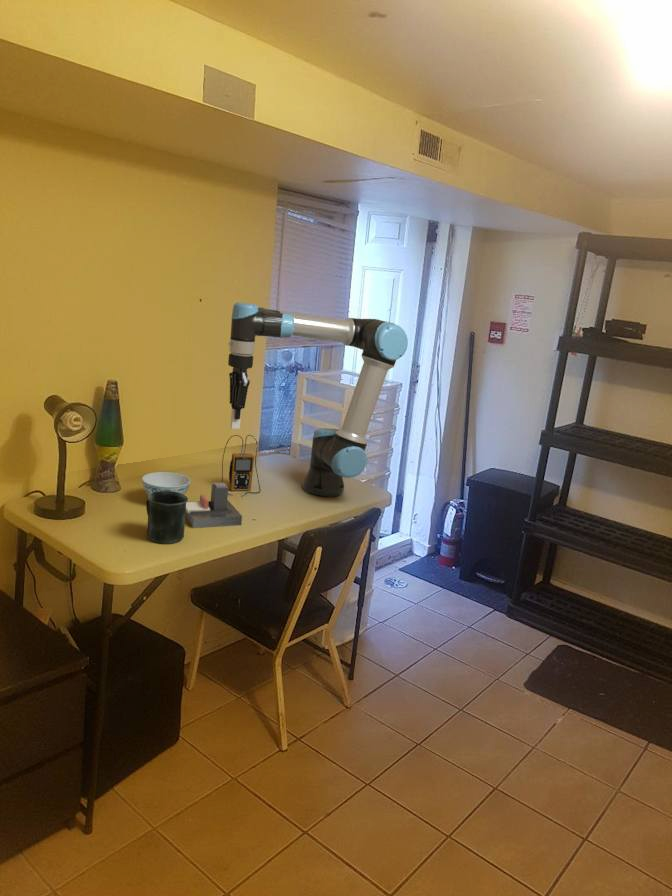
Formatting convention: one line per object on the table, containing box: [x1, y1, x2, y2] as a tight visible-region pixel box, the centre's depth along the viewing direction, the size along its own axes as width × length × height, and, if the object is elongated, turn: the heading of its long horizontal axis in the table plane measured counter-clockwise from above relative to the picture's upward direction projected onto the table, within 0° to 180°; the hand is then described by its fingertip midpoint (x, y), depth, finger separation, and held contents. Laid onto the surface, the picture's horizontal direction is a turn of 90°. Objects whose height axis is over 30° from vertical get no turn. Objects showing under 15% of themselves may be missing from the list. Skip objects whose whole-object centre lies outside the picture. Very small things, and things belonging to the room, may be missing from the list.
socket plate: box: [185, 499, 243, 529], centre depth 214 cm, size 15×14×4 cm
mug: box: [145, 491, 189, 545], centre depth 196 cm, size 11×15×12 cm
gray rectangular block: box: [210, 482, 229, 510], centre depth 215 cm, size 4×4×11 cm
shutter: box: [186, 494, 210, 513], centre depth 212 cm, size 7×7×3 cm
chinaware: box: [141, 471, 191, 496], centre depth 222 cm, size 15×15×8 cm
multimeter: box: [221, 434, 261, 498], centre depth 238 cm, size 15×10×20 cm
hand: (235, 428), depth 219 cm, fingers closed
